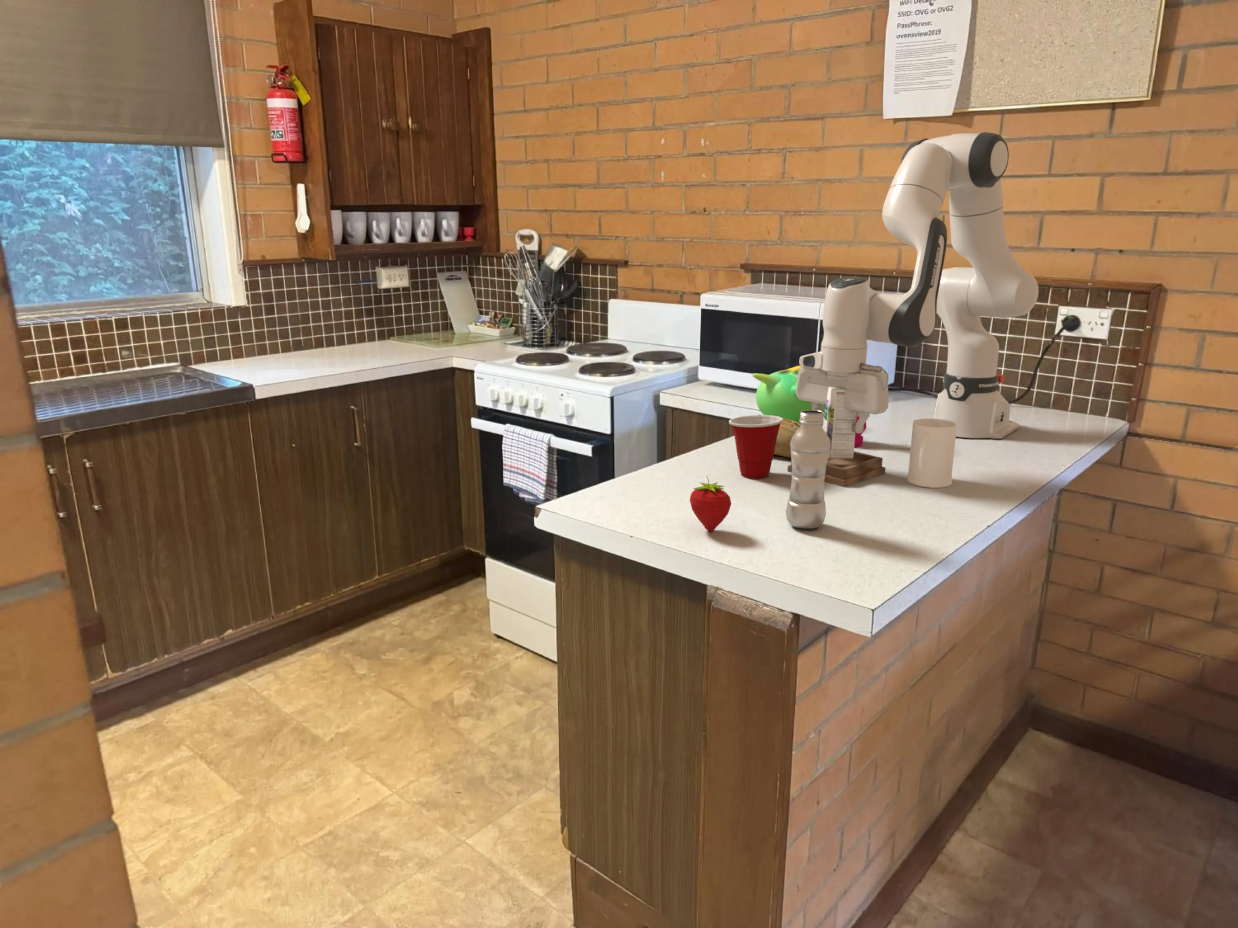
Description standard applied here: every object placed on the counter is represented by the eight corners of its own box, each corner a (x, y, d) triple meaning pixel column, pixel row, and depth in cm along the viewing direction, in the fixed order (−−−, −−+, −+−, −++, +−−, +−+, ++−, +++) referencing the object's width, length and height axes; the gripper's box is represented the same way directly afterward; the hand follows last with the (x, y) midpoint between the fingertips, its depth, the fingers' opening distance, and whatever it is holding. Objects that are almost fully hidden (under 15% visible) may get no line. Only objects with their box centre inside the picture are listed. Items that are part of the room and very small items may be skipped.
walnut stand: (829, 458, 182) (830, 444, 181) (884, 472, 171) (886, 458, 170) (787, 471, 173) (788, 456, 172) (843, 486, 163) (844, 471, 162)
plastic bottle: (780, 520, 145) (785, 408, 139) (818, 519, 145) (825, 407, 140) (791, 534, 139) (797, 417, 133) (830, 532, 139) (838, 416, 134)
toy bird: (834, 421, 215) (838, 365, 210) (811, 436, 201) (815, 375, 197) (769, 414, 224) (771, 359, 220) (743, 427, 210) (745, 369, 206)
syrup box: (819, 451, 174) (823, 383, 170) (848, 451, 174) (853, 383, 170) (825, 459, 168) (829, 388, 164) (854, 459, 168) (859, 388, 164)
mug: (936, 495, 157) (942, 433, 154) (892, 486, 163) (897, 426, 159) (958, 480, 166) (964, 422, 162) (916, 472, 171) (921, 415, 168)
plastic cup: (748, 464, 179) (750, 409, 175) (791, 474, 171) (793, 417, 168) (716, 475, 171) (717, 418, 168) (759, 486, 164) (761, 426, 160)
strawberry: (715, 541, 136) (717, 483, 133) (681, 530, 141) (681, 474, 138) (738, 532, 140) (740, 475, 137) (703, 521, 145) (704, 466, 142)
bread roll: (756, 445, 194) (758, 411, 192) (818, 454, 186) (820, 419, 183) (738, 454, 186) (739, 419, 184) (801, 464, 178) (803, 428, 176)
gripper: (898, 365, 160) (892, 435, 164) (812, 353, 175) (808, 417, 179) (879, 369, 156) (873, 440, 160) (793, 356, 171) (789, 422, 175)
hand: (838, 428), depth 170 cm, fingers closed on syrup box, 8 cm apart
